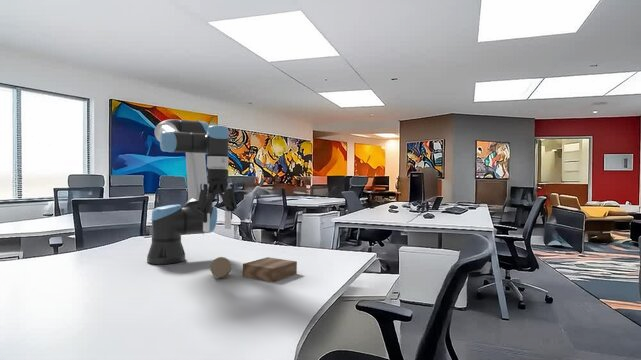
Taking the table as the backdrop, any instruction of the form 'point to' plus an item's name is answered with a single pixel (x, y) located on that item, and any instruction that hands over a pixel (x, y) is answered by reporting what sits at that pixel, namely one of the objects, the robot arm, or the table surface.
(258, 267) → the riser block
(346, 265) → the table surface
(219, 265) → the brown round piece
